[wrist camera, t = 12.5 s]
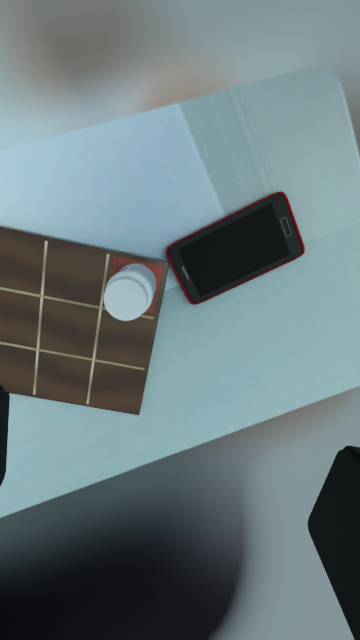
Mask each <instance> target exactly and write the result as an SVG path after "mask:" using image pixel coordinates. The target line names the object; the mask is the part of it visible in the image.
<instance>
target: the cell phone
mask: <svg viewBox="0 0 360 640" xmlns="http://www.w3.org/2000/svg"><path fill="white" fill-rule="evenodd" d="M304 251H305V249H304V244H303V241H302V238H301V235H300V233H299V230H298V227H297V224H296V221H295V218H294V215H293V212H292V210H291V207H290V204H289V201H288V198H287V196H286V195H285V193H283V192H277V193H274V194H271V195H269V196H267V197H265V198H263V199H261V200H259V201H257V202H255V203H253V204H251V205H249V206H247V207H245V208H243V209H241V210H239V211H237V212H235V213H233V214H231V215H229V216H227V217H225V218H223V219H221V220H219V221H217V222H215V223H213V224H211V225H209V226H207V227H205V228H202V229H200V230H198V231H196V232H194V233H192V234H190V235H188V236H186V237H184V238H182V239H180V240H178V241H176V242H174V243H173V244H171V245H170V246H168V247H167V249H166V255H167V258H168V260H169V262H170V264H171V266H172V268H173V270H174V272H175V274H176V277H177V279H178V281H179V283H180V285H181V287H182V289H183V291H184V293H185V295H186V297H187V299H188V300H189V302H190V303H191V304H199V303H202V302H204V301H206V300H209V299H211V298H213V297H215V296H217V295H219V294H221V293H224V292H226V291H228V290H230V289H232V288H234V287H237V286H239V285H241V284H243V283H245V282H247V281H250V280H252V279H254V278H256V277H258V276H260V275H262V274H265V273H267V272H269V271H271V270H273V269H275V268H278V267H280V266H282V265H284V264H286V263H288V262H290V261H293V260H295V259H297V258H298V257H300V256H301V255H303V254H304ZM229 288H230V289H229ZM227 289H228V290H227ZM225 290H226V291H225ZM223 291H224V292H223ZM214 295H215V296H214ZM212 296H213V297H212Z"/></svg>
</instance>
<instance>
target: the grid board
mask: <svg viewBox="0 0 360 640" xmlns="http://www.w3.org/2000/svg"><path fill="white" fill-rule="evenodd" d="M131 263H140V264H143V265H145V266H147V267H148V268H149V269H151V271H152V272H153V273H154V275H155V278H156V290H155V293H154V296H153V300H152V302H151V305H150V307H149V308H148V309H147V310H146V311H145V312H144V313H143V314H141V315H140V316H139V317H138V318H136V319H134V320H130V321H122V320H119V319H116V318H114V317H113V316H112V315H110V314H109V312H108V311H107V310H106V308H105V305H104V293H105V289H106V285H107V283H108V281H109V280H110V278H111V277H112V276H113V275H115V274H116V273H117V272H118V271H119V270H120V269H121V268H123V267H124V266H126V265H128V264H131ZM168 267H169V261H165V260H161V259H156V258H151V257H147V256H142V255H137V254H132V253H128V252H123V251H118V250H113V249H109V248H104V247H99V246H94V245H90V244H85V243H80V242H75V241H71V240H66V239H61V238H56V237H52V236H47V235H42V234H37V233H33V232H28V231H23V230H18V229H14V228H9V227H4V226H0V385H2V386H3V388H4V391H5V392H8V393H13V394H19V395H25V396H31V397H37V398H42V399H48V400H54V401H60V402H66V403H71V404H77V405H83V406H89V407H94V408H100V409H106V410H112V411H118V412H123V413H129V414H135V415H139V413H140V407H141V402H142V397H143V392H144V387H145V382H146V377H147V372H148V367H149V362H150V357H151V352H152V347H153V342H154V337H155V332H156V327H157V322H158V317H159V312H160V307H161V302H162V297H163V292H164V287H165V282H166V277H167V272H168Z"/></svg>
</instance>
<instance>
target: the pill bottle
mask: <svg viewBox="0 0 360 640" xmlns="http://www.w3.org/2000/svg"><path fill="white" fill-rule="evenodd" d="M155 290H156V278H155V275H154V273H153V272H152V271H151V269H149V268H148V267H147V266H145V265H143V264H140V263H131V264H128V265H126V266H124V267H123V268H121V269H120V270H119V271H118V272H117V273H116V274H115V275H113V276H112V277H111V278H110V280H109V281H108V283H107V285H106V289H105V293H104V305H105V308H106V310H107V311H108V312H109V314H110V315H112V316H113V317H114V318H116V319H119V320H122V321H130V320H134V319H136V318H138V317H139V316H140V315H141V314H143V313H144V312H145V311H146V310H147V309H148V308H149V307H150V305H151V302H152V300H153V296H154V293H155Z"/></svg>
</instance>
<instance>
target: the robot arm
mask: <svg viewBox="0 0 360 640" xmlns="http://www.w3.org/2000/svg"><path fill="white" fill-rule="evenodd" d="M8 417H9V393H8V392H5V391H4V388H3V386H2V385H0V486H1V484H2V482H3V479H4V476H5V472H6V456H7V436H8ZM308 529H309V533H310V535H311V538H312V540H313V542H314V545H315V547H316V549H317V552H318V554H319V557H320V559H321V561H322V563H323V566H324V568H325V571H326V573H327V575H328V578H329V580H330V582H331V585H332V587H333V590H334V592H335V594H336V597H337V599H338V601H339V604H340V606H341V608H342V611H343V613H344V616H345V618H346V620H347V623H348V625H349V627H350V630H351V632H352V634H353V637H354V639H355V640H360V448H359V447H354V446H346V447H345V448H344V449H343V450H340V451H339V452H338V453H337V455H336V457H335V460H334V462H333V464H332V467H331V469H330V471H329V473H328V476H327V478H326V480H325V483H324V485H323V487H322V489H321V491H320V494H319V496H318V498H317V501H316V503H315V505H314V507H313V510H312V512H311V514H310V516H309V519H308Z"/></svg>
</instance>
